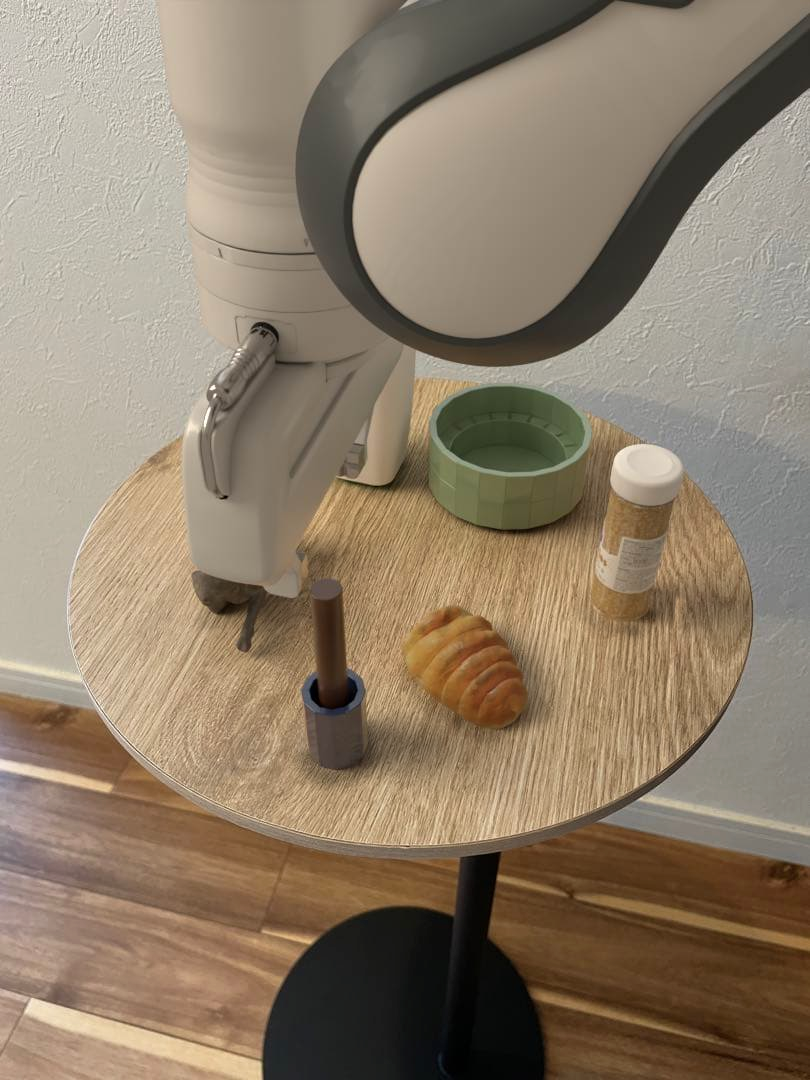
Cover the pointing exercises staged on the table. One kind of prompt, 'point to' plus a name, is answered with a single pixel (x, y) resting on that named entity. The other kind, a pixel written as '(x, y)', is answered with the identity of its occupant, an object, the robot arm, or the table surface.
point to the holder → (335, 725)
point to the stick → (329, 642)
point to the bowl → (508, 455)
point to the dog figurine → (230, 600)
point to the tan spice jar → (634, 530)
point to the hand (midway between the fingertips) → (319, 524)
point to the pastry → (466, 667)
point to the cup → (390, 424)
